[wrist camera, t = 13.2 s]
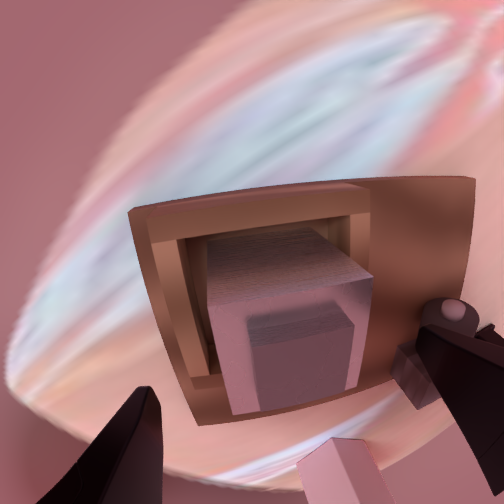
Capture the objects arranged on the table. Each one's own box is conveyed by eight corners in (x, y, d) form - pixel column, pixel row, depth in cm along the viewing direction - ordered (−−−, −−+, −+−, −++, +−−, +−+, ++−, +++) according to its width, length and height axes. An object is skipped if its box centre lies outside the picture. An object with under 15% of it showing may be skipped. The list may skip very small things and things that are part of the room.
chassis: (434, 349, 21) (468, 385, 16) (197, 414, 19) (200, 475, 13) (464, 176, 15) (523, 191, 10) (134, 207, 13) (90, 240, 8)
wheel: (437, 345, 18) (467, 375, 14) (398, 362, 18) (427, 398, 14) (453, 285, 16) (492, 312, 12) (412, 299, 16) (453, 334, 12)
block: (310, 312, 15) (364, 399, 9) (222, 328, 15) (235, 431, 8) (309, 226, 13) (387, 288, 7) (207, 240, 13) (207, 322, 7)
